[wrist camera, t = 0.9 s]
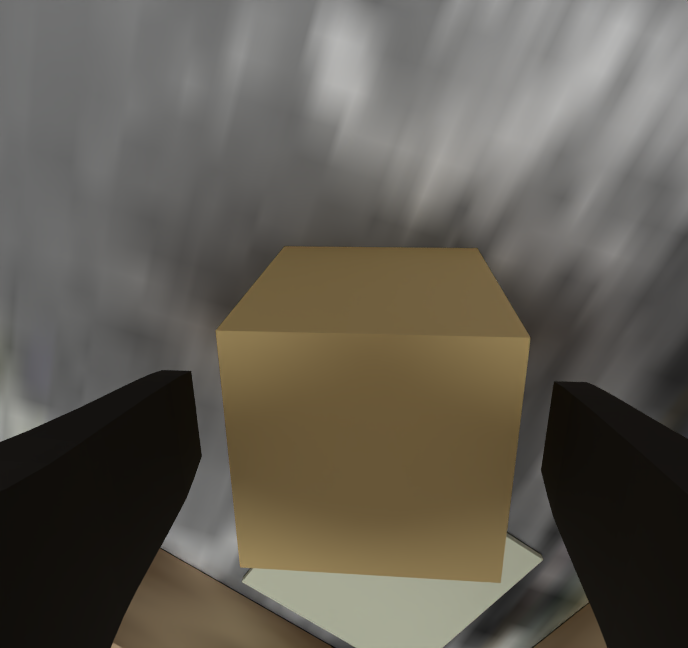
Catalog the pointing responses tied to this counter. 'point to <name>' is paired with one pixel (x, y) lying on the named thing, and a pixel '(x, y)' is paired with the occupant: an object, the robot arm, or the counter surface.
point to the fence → (249, 616)
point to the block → (373, 413)
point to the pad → (391, 601)
